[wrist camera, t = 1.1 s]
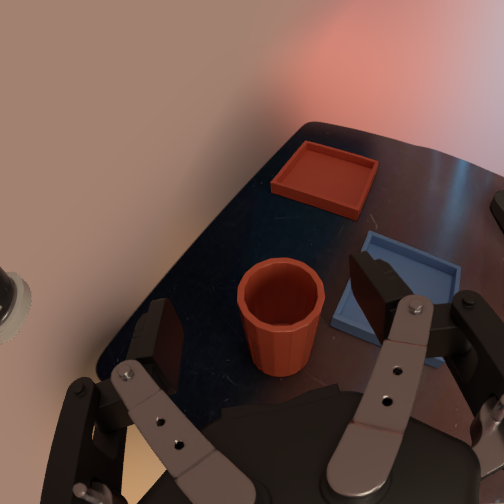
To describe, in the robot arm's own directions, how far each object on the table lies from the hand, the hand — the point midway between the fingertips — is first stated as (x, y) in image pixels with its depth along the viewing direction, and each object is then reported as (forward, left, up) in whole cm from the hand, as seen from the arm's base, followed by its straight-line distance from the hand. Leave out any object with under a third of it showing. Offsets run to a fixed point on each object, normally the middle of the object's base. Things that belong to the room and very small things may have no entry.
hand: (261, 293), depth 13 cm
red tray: (+21, +25, -19) cm, 37 cm away
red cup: (+3, +4, -19) cm, 19 cm away
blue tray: (+18, +3, -19) cm, 26 cm away
